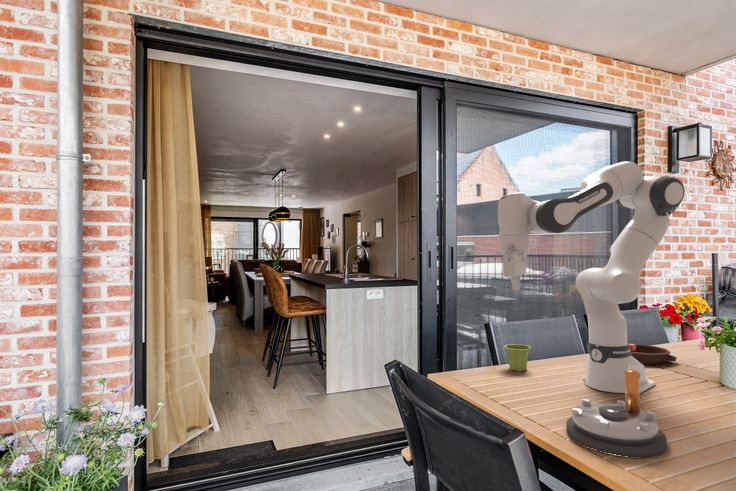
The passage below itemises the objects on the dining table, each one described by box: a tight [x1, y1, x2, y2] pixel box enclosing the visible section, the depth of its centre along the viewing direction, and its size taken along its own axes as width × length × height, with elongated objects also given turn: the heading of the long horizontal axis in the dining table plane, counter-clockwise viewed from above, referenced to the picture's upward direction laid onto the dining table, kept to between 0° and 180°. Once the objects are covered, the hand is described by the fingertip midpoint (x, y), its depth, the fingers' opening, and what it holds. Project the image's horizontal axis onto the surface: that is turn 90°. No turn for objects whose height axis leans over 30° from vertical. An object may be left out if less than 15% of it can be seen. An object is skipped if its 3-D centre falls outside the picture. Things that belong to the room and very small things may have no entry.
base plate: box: [565, 415, 668, 458], centre depth 102 cm, size 21×21×2 cm
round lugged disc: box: [571, 369, 659, 445], centre depth 102 cm, size 18×18×13 cm
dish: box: [631, 344, 677, 365], centre depth 168 cm, size 18×22×5 cm
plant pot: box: [504, 343, 531, 372], centre depth 161 cm, size 9×9×9 cm
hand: (516, 289), depth 129 cm, fingers closed
